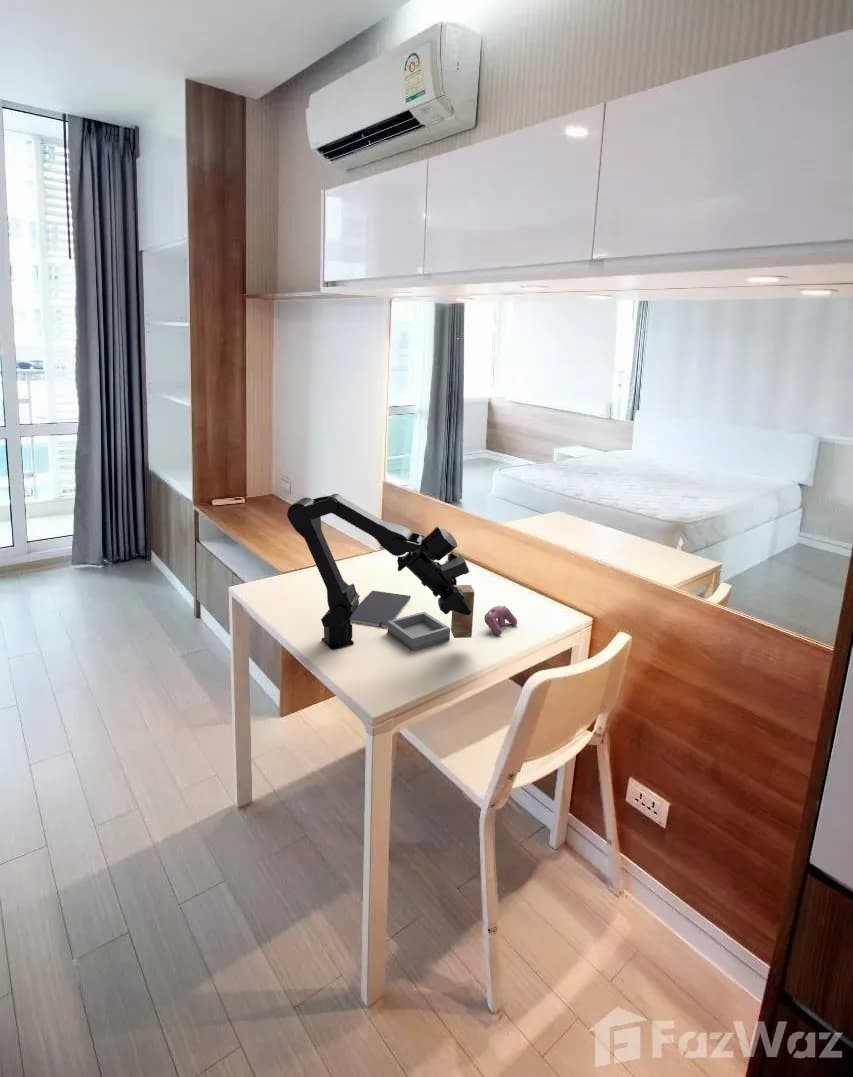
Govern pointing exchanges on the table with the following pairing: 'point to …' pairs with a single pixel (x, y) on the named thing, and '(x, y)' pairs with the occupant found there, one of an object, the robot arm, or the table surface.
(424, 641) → the tray
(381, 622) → the notebook
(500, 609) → the video game controller
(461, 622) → the walnut handle block
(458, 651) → the table surface
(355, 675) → the table surface
